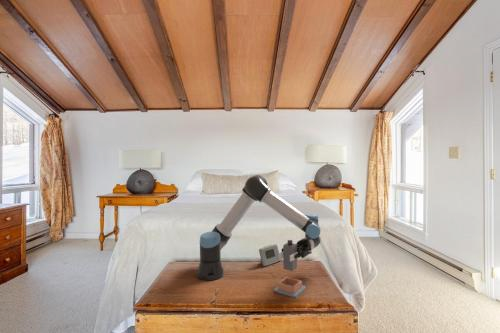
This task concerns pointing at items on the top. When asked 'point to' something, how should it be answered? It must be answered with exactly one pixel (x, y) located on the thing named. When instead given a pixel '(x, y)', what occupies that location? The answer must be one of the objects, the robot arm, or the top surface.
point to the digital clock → (269, 255)
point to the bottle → (287, 251)
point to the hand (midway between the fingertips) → (285, 257)
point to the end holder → (290, 287)
